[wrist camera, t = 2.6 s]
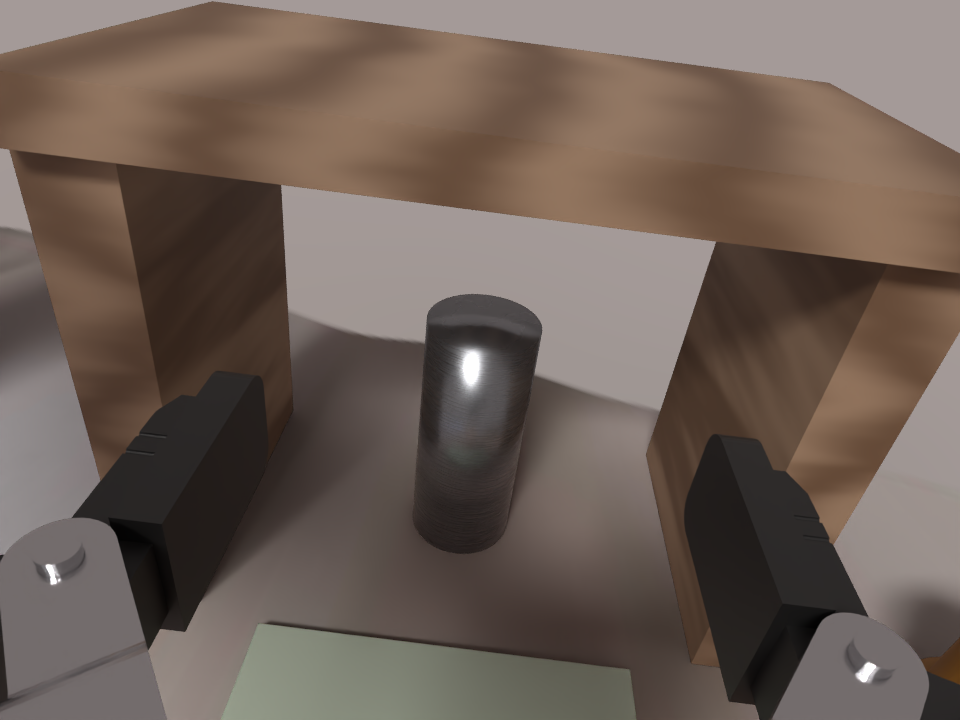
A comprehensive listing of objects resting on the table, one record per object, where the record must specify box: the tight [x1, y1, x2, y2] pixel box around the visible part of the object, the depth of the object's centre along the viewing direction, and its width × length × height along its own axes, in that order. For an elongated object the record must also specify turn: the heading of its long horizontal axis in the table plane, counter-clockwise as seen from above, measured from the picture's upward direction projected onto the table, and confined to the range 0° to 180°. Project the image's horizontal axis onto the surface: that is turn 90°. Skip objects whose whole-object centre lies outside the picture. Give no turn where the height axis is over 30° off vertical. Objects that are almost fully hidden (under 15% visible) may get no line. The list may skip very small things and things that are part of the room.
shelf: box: [0, 1, 960, 667], centre depth 29 cm, size 28×16×22 cm, turn 86°
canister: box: [413, 294, 542, 554], centre depth 32 cm, size 5×5×12 cm
